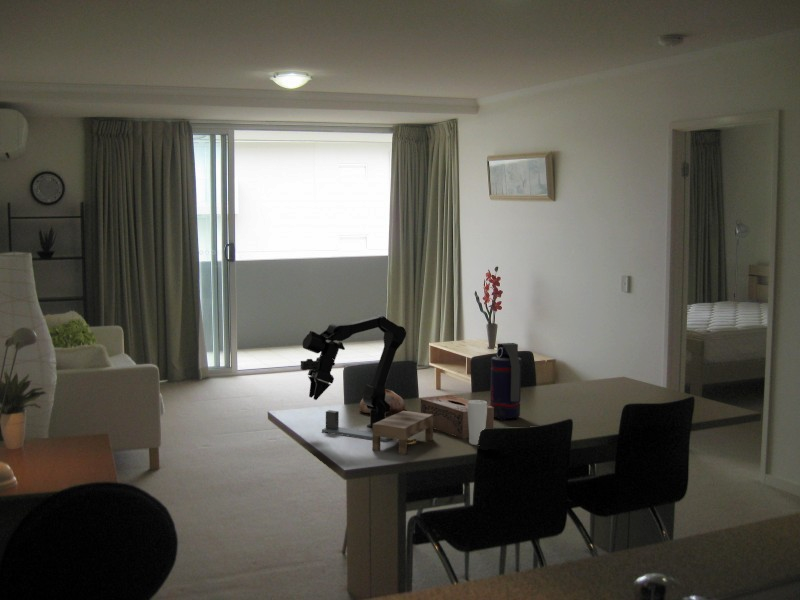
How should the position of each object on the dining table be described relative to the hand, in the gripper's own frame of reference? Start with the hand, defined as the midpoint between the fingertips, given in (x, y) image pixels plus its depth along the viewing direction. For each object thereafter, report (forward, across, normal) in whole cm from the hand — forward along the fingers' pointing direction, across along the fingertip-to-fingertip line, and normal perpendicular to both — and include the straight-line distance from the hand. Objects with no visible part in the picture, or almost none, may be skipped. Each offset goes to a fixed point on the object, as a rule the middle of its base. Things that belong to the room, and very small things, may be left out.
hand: (312, 398), depth 299 cm
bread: (-3, -34, +36) cm, 50 cm away
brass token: (+3, +15, +35) cm, 38 cm away
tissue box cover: (-7, 0, +56) cm, 56 cm away
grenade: (-18, -11, +79) cm, 81 cm away
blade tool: (+7, +1, +20) cm, 21 cm away
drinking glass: (-4, +23, +56) cm, 61 cm away
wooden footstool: (+4, +18, +32) cm, 37 cm away
